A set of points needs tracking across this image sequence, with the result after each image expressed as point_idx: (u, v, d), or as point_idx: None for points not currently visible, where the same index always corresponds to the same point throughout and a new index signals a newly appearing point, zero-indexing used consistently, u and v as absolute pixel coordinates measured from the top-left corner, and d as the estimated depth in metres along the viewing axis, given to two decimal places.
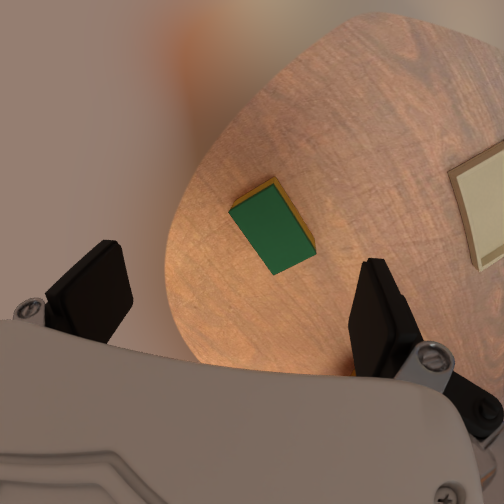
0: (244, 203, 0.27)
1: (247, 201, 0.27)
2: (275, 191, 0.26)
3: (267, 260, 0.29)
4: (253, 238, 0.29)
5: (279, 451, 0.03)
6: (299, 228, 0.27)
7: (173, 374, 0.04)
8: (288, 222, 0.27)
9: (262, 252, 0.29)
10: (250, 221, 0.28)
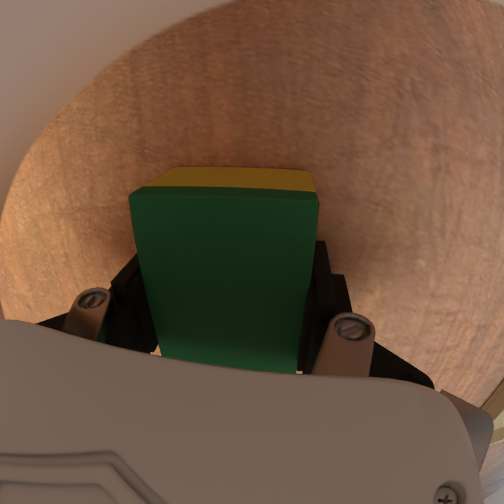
0: (190, 199, 0.07)
1: (203, 198, 0.07)
2: (312, 224, 0.07)
3: None
4: (160, 302, 0.09)
5: (279, 451, 0.03)
6: (297, 346, 0.09)
7: (173, 374, 0.04)
8: (281, 321, 0.09)
9: (168, 340, 0.10)
10: (177, 259, 0.08)
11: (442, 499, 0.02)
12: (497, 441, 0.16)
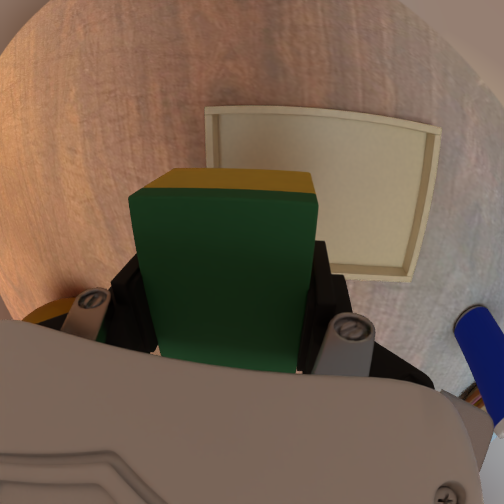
0: (189, 200, 0.07)
1: (202, 200, 0.07)
2: (311, 226, 0.07)
3: None
4: (160, 303, 0.09)
5: (279, 451, 0.03)
6: (296, 347, 0.09)
7: (173, 374, 0.04)
8: (281, 323, 0.09)
9: (168, 341, 0.10)
10: (177, 260, 0.08)
11: (442, 499, 0.02)
12: None
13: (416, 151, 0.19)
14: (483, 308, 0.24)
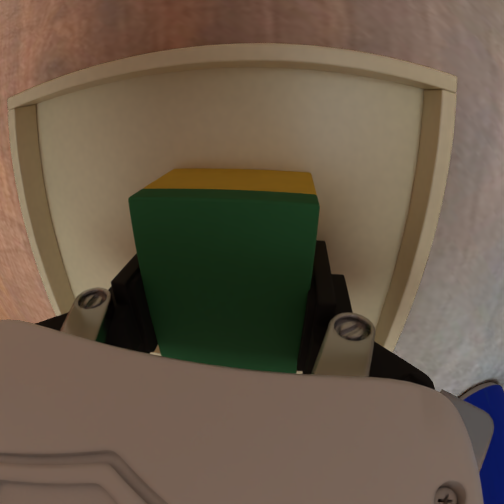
0: (190, 201, 0.07)
1: (203, 201, 0.07)
2: (312, 227, 0.07)
3: None
4: (160, 304, 0.09)
5: (279, 451, 0.03)
6: (297, 348, 0.09)
7: (173, 374, 0.04)
8: (282, 324, 0.09)
9: (168, 342, 0.10)
10: (177, 262, 0.08)
11: (442, 499, 0.02)
12: None
13: (402, 131, 0.09)
14: (495, 387, 0.14)
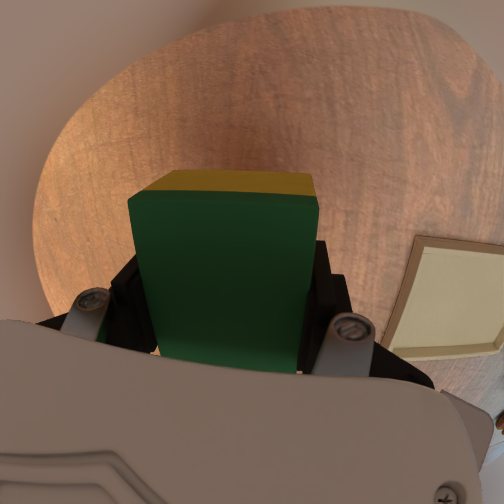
0: (189, 203, 0.07)
1: (202, 203, 0.07)
2: (312, 229, 0.07)
3: None
4: (160, 306, 0.09)
5: (279, 451, 0.03)
6: (297, 350, 0.09)
7: (173, 374, 0.04)
8: (281, 325, 0.09)
9: (168, 343, 0.10)
10: (177, 263, 0.08)
11: (442, 499, 0.02)
12: (427, 357, 0.26)
13: None
14: None
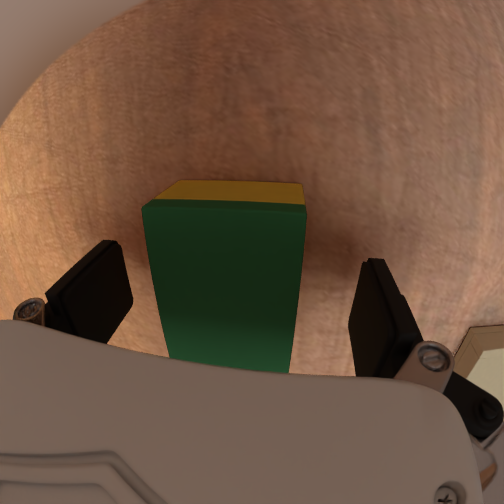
0: (196, 211, 0.08)
1: (207, 211, 0.08)
2: (301, 233, 0.08)
3: (177, 353, 0.11)
4: (168, 301, 0.10)
5: (279, 451, 0.03)
6: (290, 340, 0.10)
7: (173, 374, 0.04)
8: (275, 318, 0.10)
9: (175, 336, 0.11)
10: (184, 263, 0.09)
11: (442, 499, 0.02)
12: None
13: None
14: None
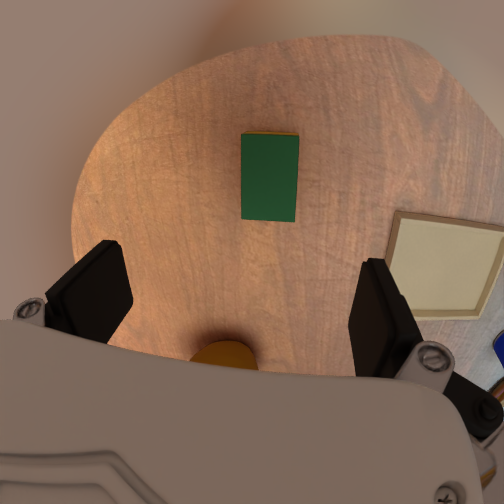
0: (262, 135, 0.24)
1: (266, 135, 0.24)
2: (297, 143, 0.24)
3: (246, 201, 0.27)
4: (246, 172, 0.26)
5: (279, 451, 0.03)
6: (295, 189, 0.26)
7: (173, 374, 0.04)
8: (289, 177, 0.25)
9: (246, 191, 0.27)
10: (255, 155, 0.25)
11: (442, 499, 0.02)
12: None
13: (496, 244, 0.28)
14: None
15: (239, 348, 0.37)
